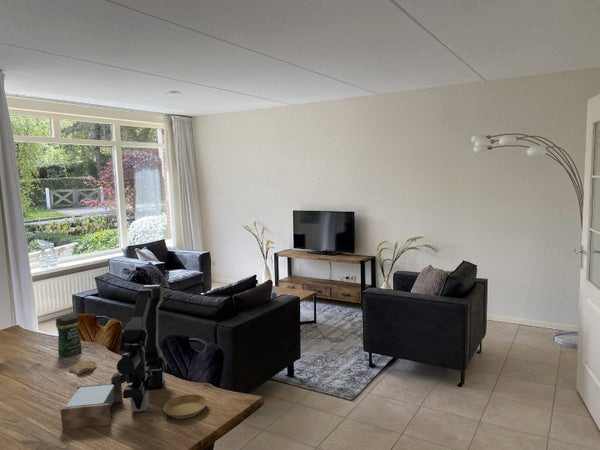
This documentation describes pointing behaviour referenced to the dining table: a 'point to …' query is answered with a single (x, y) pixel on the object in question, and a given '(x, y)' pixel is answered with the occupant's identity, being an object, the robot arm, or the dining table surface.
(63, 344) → the coffee jar
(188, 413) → the plant saucer
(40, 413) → the dining table surface
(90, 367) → the pottery shard
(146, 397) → the grey cube
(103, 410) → the frame
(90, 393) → the trapdoor
